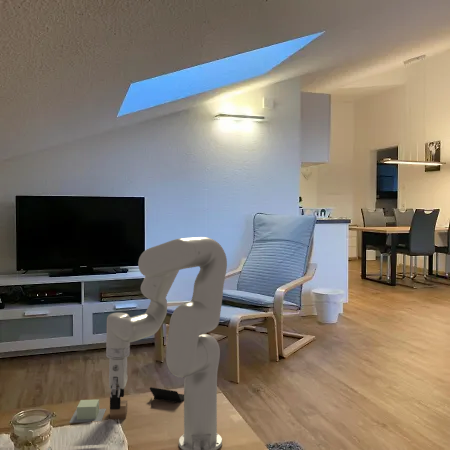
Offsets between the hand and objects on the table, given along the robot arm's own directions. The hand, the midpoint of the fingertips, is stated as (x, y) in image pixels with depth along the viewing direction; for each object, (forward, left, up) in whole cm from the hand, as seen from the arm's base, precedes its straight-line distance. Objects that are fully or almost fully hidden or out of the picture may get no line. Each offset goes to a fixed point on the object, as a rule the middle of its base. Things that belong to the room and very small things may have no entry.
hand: (117, 402), depth 153 cm
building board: (+1, +9, -5) cm, 11 cm away
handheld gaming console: (+14, -17, -5) cm, 22 cm away
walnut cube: (0, -1, -5) cm, 5 cm away
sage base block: (+1, +9, -4) cm, 10 cm away
